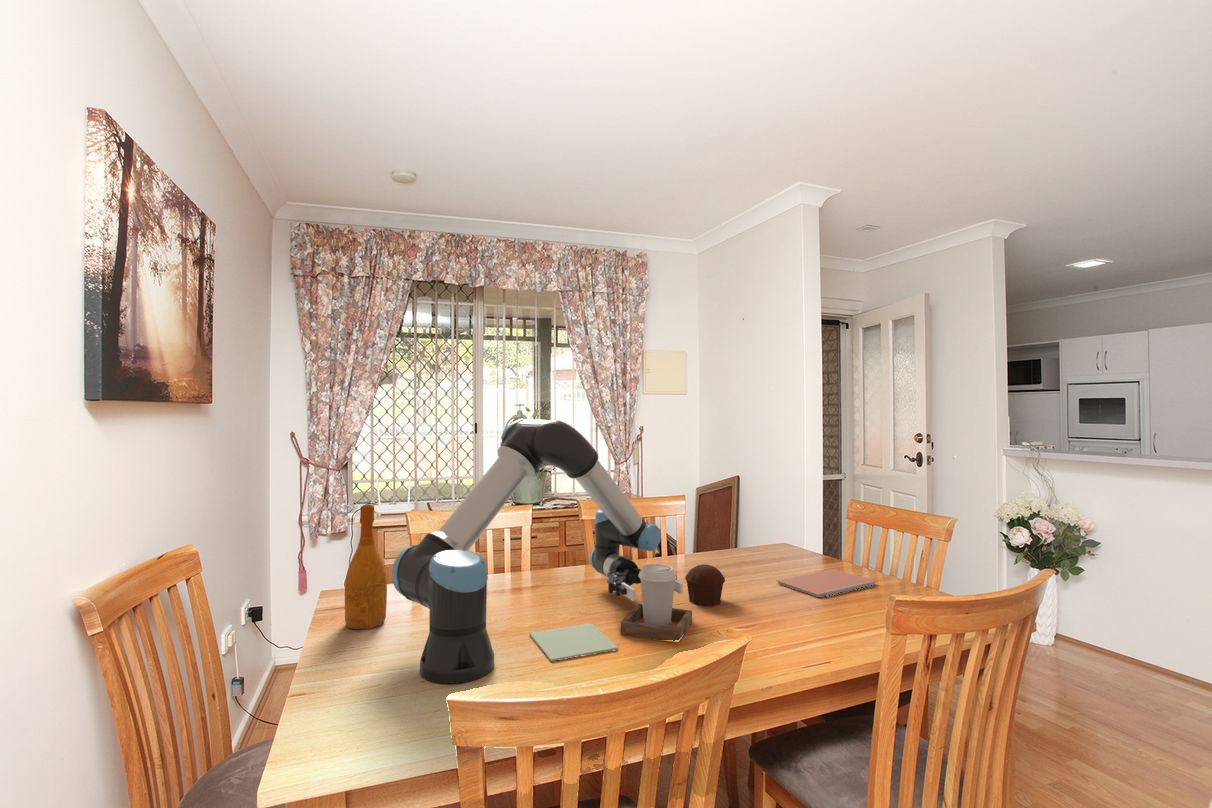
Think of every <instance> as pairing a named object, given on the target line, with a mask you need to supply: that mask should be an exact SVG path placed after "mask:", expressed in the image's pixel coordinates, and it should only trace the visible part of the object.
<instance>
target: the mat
mask: <svg viewBox="0 0 1212 808" xmlns="http://www.w3.org/2000/svg"><path fill="white" fill-rule="evenodd" d="M529 637H530V638H531V640H533V642H534V644H536V645H537V647H538V646H539V647H540V648H539V647H538V648H539V649H540V651H541V652H542V651H543V652H544V653H545V654H544V653H543V652H542V653H543V654H544V655H545V657H546V656H547V657H548V658H547V657H546V658H547V660H548V661H549V662H550V661H554V662H556V661H555V660H559V659H565V658H570V657H575V656H581V655H588V654H593V655H595V654H594V653H599V654H601V653H600V652H604V653H607V652H606V651H610V652H614V651H613V650H616V651H618V650H619V647H618V646H617V645H616V644H615V643H614V642H612V641H611V640H610V639H609V638H608V637H607V636H606V635H605V634H604V633H602V632H601V631H600V630H599V629H598V628H597V627H596V626H595V625H593V624H592V623H586V624H585V623H584V624H578V625H572V626H564V627H558V628H552V629H547V630H546V629H545V630H538V631H533V632H529ZM588 656H589V655H588ZM565 660H566V659H565Z"/></svg>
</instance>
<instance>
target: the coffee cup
mask: <svg viewBox="0 0 1212 808" xmlns="http://www.w3.org/2000/svg"><path fill="white" fill-rule="evenodd" d="M640 570H641V571H640V573H639V578H640V579H641V583H640V588H641V602H642V603H641V604H642V605H643V617H642V618H643V624H650V625H657V626H664V627H671V624H672V621H671V615H672V608H673V603H674V593H675V591H674V583H675V579H676V578H677V579H678V575H677V573H676V572H675V569H674V567H673V566H671V565H668V564H664V563H663V564H661V563H650V564H645V565H643V566H641V569H640ZM676 575H677V576H676Z"/></svg>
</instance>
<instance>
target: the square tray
mask: <svg viewBox="0 0 1212 808" xmlns="http://www.w3.org/2000/svg"><path fill="white" fill-rule="evenodd" d="M641 618H643V605H642V603H637V605H635V607H634V608H633V609H632V610H630V612H629V613H628V614H627V615H626V616H625V617H624V618H623V619H622V620H621V621H620V629H619V630H620V632H619V633H620V635H622V636H629V637H633V638H641V639H647V640H653V639H655V640H654V641H659V640H673V641H675V640H679V639H680V638H681V637H682V635H683V634H684V633H685V632H686V633H687V631H688V629H689V628H690V626H691V625H692V623H693V610H690V609H689V610H688V609H682V608H675V607H674V608H673V607H672V615H671V622H673V621H674V622H673V623H677V624H676V626H675V627H671V626H670V627H664V626H657V625H650V624H644V622H643V623H642V622H638V621H639V620H640V619H641ZM686 633H685V634H686ZM685 634H684V635H685ZM682 638H683V637H682Z"/></svg>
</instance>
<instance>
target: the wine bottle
mask: <svg viewBox="0 0 1212 808" xmlns="http://www.w3.org/2000/svg"><path fill="white" fill-rule="evenodd" d="M359 510H360V513H359V514H360V515H359V517H360V518H359V523H360V526H361V527H360V536H359V542H358V543H357V548H356V550H355V552H354V554H353V556H352V559H351V561H350V563H349V565H348V569H347V571H346V576H345V581H344V621H345V622H344V623H345V626H346V627H348V628H349V629H352V630H368V629H373V628H376V627H379V626H380V625H382V624H383V623H384V622H385V621H386V617H387V602H388V601H387V599H388V577H387V572H386V567H385V565H384V561H383V559H382V557H381V554H380V553H379V551H378V548H377V545H376V544H375V538H374V533H373V526H374V522H375V507H374V505H373V504H363V505H361V506H360V507H359Z"/></svg>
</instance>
